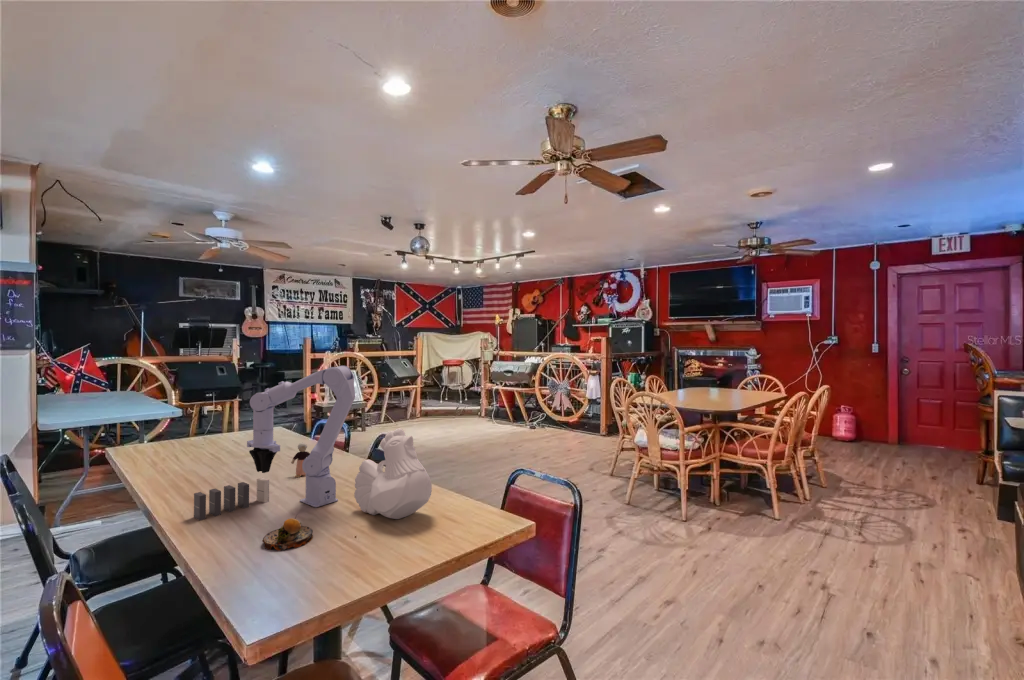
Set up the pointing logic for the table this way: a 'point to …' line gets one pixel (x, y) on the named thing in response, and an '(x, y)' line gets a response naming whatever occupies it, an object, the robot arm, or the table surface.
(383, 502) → the decorative rooster
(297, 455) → the grandmother figurine
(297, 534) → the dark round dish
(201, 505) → the tile
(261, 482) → the ivory tile
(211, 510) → the tile
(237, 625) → the table surface
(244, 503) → the tile
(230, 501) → the tile
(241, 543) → the table surface
